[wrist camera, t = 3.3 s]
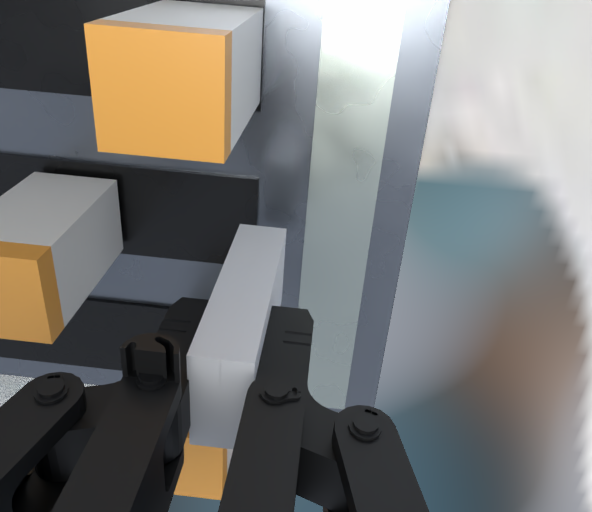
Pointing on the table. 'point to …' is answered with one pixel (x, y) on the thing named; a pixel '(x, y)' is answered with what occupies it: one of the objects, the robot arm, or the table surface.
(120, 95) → the breaker near
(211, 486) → the breaker far
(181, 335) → the robot arm
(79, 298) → the block
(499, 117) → the table surface
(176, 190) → the panel
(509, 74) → the table surface
